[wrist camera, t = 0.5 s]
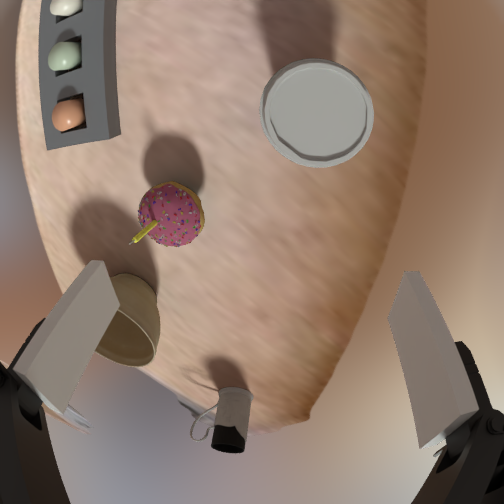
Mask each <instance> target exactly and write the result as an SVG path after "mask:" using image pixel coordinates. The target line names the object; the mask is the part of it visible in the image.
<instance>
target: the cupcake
mask: <svg viewBox="0 0 504 504" xmlns="http://www.w3.org/2000/svg"><path fill="white" fill-rule="evenodd" d="M138 212H139V213H138V215H139V217H138V218H139V221H140V222H139V223H140V224H141V227H143V230H141V231H140V232H139V233H138V234H137V235H136V236H135V237H133V239H132V240H133V241H131V242H130V243H129V245H130V244H132V243H133V242H134V243H137V242H138V241H139V240H140V239H141V238H142V237H143V236H144V235H146V234H148V235H149V236H150V237H151V239H154V240H155V241H156V242H157V243H159V244H161V245H165V246H175V247H177V246H178V247H179V246H181V245H186V244H188V243H190V242H191V241H192V240H193V239H194V238H195V237H196V236H198V234H199V233H200V232H201V231H202V229H203V227H204V222H205V219H204V212H203V209H202V206H201V200H200V199H199V197H198V196H197V195H196V194H195V193H194V192H193V191H192V190H190V189H189V188H187V187H185V186H183V185H181V184H179V183H176V182H174V181H170V182H166V183H162V184H159V185H156V186H154V187H152V188H151V189H150V190H148V191H147V192H146V193H145V195H144V196H143V198H142V200H141V202H140V204H139V211H138Z"/></svg>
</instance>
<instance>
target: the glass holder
mask: <svg viewBox="0 0 504 504" xmlns="http://www.w3.org/2000/svg"><path fill="white" fill-rule="evenodd" d="M218 393H219V401H218V403H217V404H216V405H215V406H213V407H212V408H210V409H208V410H207V411H205V412H204V413H202V414H201V415H199V416H198V417H197V419H196V420H195V421H194V423H193V425H192V427H191V431H190V436H191V438H192V439H193V437H192V431H193V428H194V426H195V424H196V422H197V421H198V420H199V419H200V418H201V417H202V416H203V415H205V414H206V413H208V412H209V411H211V410H213V409H214V408H216V407H217V406H218V408H217V413H216V418H215V423H214V427H209V428H208V429H207V432H206V435H205V436H204V438H202V439H200V440H195V439H193V440H194V441H197V442H201V441H203V440H205V439H206V437H207V436H208V432H209V430H210V429H214V433H213V438H212V444H211V447H212V448H213V449H216V450H218V451H221V452H226V453H242V452H244V449H245V442H246V439H247V431H248V423H249V415H250V406H251V401H252V400H253V394H252V393H251V392H249V391H247V390H245V389H242V388H238V387H225V388H222V389H220V390H219V392H218Z"/></svg>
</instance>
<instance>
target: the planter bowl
mask: <svg viewBox="0 0 504 504" xmlns="http://www.w3.org/2000/svg"><path fill="white" fill-rule="evenodd" d="M109 278H110V280H111V283H112V286H113V288H114V291H115V293H116V296H117V298H118V301H119V303H120V306H119V308H118V310H117V311H116V313H115V315H114V317H113V318H112V320H111V322H110V324H109V325H108V327H107V329H106V331H105V333H104V334H103V336H102V338H101V340H100V342H99V344H98V345H97V347H96V349H95V352H96V353H98V354H99V355H101V356H103V357H104V358H107V359H109V360H111V361H113V362H115V363H118V364H121V365H124V366H129V367H143V366H146V365H148V364H150V363H151V362H152V361H153V360H154V358H155V355H156V349H157V345H158V342H159V337H160V316H159V311H158V308H157V298H156V295H155V293H154V291H153V289H152V288H151V287H150V286H149V285H148V284H147V283H146V282H145V281H144V280H142V279H141V278H139V277H137V276H135V275H131V274H127V273H122V274H118V275H116V276H114V277H109Z"/></svg>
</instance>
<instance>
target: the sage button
mask: <svg viewBox="0 0 504 504" xmlns="http://www.w3.org/2000/svg"><path fill="white" fill-rule="evenodd" d="M81 63H82V43H80V42H59V43H57V44H55V45H54V46H53V47H52V49H51V51H50V53H49V56H48V65H49V67H50V68H51V69H52V70H54V71H57V70H67V69H75V68H77V67H78V66H79V65H80V64H81Z"/></svg>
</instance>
